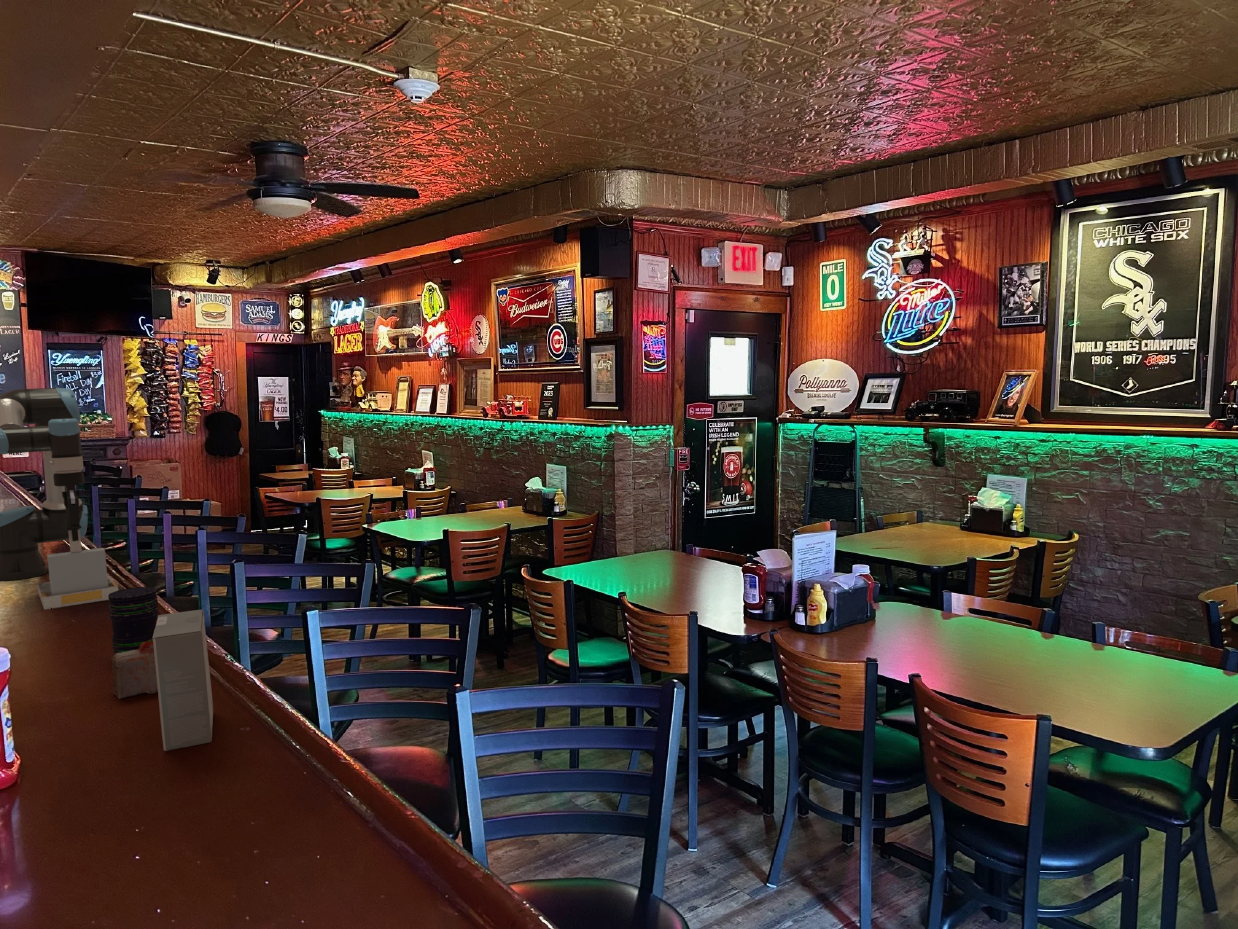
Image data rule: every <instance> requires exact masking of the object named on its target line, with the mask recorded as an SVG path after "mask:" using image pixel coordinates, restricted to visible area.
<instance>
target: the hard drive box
mask: <svg viewBox="0 0 1238 929" xmlns="http://www.w3.org/2000/svg"><path fill="white" fill-rule="evenodd" d="M157 616H158V619H157V622H156V628H155V631H154V635H153V646H154V656H155V666H156V676H157V686H158V692H157V694H158V704H159V706H158V707H159V716H160V728H161V736H162V745H163V746H162V748H163V751H165V752H168V751H172V750H176V749H182V748H187V747H193V746H198V745H203V744H208V743H212V738H213V719H214V704H213V693H212V684H211V683H212V682H211V672H210V663H209V654H208V645H207V644H208V642H207V635H206V634H207V633H206V623H205V622H206V621H205V612H204V610H203V609H196V610H187V611H179V612H173V613H165V614H159V615H158V614H157Z"/></svg>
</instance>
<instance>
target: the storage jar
mask: <svg viewBox="0 0 1238 929" xmlns="http://www.w3.org/2000/svg"><path fill="white" fill-rule="evenodd" d="M157 591H158V590H157V588H156V587H151V586H139V587H132V588H131V587H130V588H124V589H120V590H119V589H118V591H115V592H112V593H110V594H109V595H108V599H109V600H108V612H109V619H110V620H111V626H112V636H111V642H112V643H111V648H112V650H113V651H112V652H113V656H114V655H115V654H117V653H122V652H127V651H132V650H138V649H139V645H140V644H142V643H143V642H147V641H149V642H151V641H152V642H153V635H154V631H155V628H156V622H157V619H158V614H159V609H160V608H159V600H158V595H157Z"/></svg>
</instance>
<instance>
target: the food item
mask: <svg viewBox="0 0 1238 929" xmlns="http://www.w3.org/2000/svg"><path fill="white" fill-rule="evenodd" d="M110 661H111V668H112V683H111V684H112V690H113V695H115V697H116V698H118V700H122V699H125V698H130V697H135V696H139V695H143V694H146V693H147V694H156V693H158V686H157V676H156V666H155V656H154V646H153V642H152V641H151V642H149V641H147V642H143V643H142V644H140V645H139V649H138V650H132V651H127V652H122V653H117V654H115V655H114V654H113V655H112V656H111V658H110ZM142 693H143V694H142ZM138 694H139V695H138Z"/></svg>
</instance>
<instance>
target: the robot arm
mask: <svg viewBox="0 0 1238 929" xmlns="http://www.w3.org/2000/svg"><path fill="white" fill-rule="evenodd" d="M81 420H82V418H81V413H80V409H79V404H78V400H77V398H76V393H75V392H74V390H73V389H71V388H68V387H67V388H66V387H45V388H43V387H41V388H40V387H39V388H16V389H12V390H9V391H6V392H4V393H1V394H0V455H9V454H21V453H23V454H24V453H36V452H37V453H40V452H42V459H43V470H44V480H45V482H44V483H45V492H46V500H44V501H43V502H42V504H41V506H42V507H41V508H38V509H37V508H35V506H34V505H26V506H24V505H23V506H19V507H12V508H10V509H6V510H5V509H4V510H2V511H0V581H2V582H4V581H17V580H25V579H26V580H27V579H30V578H35V577H39V576H43V575H45V574H47V573H48V566H47V564H46V563H45V561H44V558H43V556H42V555H41V553H40V550H39V544H43V543H52V542H61V541H69V552H71V553H72V552H80V551H82V550H83V549H82V539H81V538H83V537H84V536H86V534H87V528H88V519H89V516H88V514H89V513H88V512H89V511H88V505H85V504H83V501H82V499H80V491H79V490H76V489H77V488H76V486H82V485H84V484H85V473H84V471H83V469H84V458H83V455H82V454H83V453H82V444H81V442H82V440H81V428H80V424H79V423H80V422H81ZM25 425H34V426H25Z"/></svg>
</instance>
